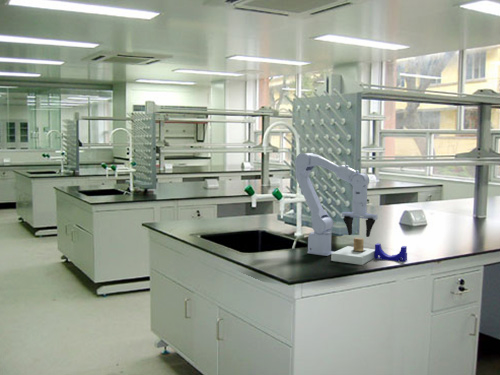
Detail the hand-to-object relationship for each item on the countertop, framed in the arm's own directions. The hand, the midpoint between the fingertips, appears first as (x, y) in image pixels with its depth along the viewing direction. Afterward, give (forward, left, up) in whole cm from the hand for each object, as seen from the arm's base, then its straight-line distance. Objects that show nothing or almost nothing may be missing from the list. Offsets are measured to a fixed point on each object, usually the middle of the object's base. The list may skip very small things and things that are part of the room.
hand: (358, 235), depth 206 cm
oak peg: (0, 0, -9) cm, 9 cm away
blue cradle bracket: (+12, +6, -10) cm, 16 cm away
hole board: (-1, -2, -9) cm, 10 cm away
